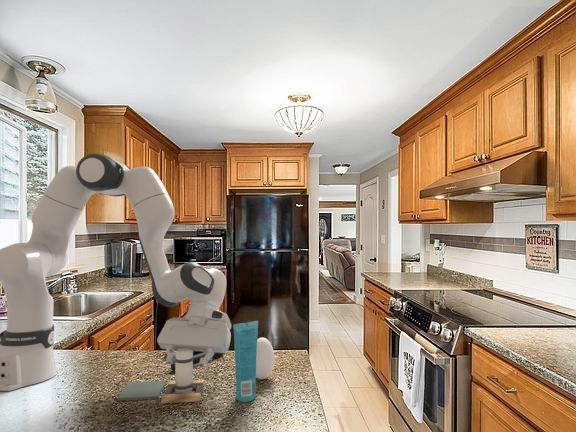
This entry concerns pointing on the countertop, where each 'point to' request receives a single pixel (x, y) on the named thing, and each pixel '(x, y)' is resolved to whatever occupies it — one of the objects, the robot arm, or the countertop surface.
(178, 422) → the countertop surface
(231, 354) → the countertop surface
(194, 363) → the door handle
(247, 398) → the tube
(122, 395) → the mat
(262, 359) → the egg
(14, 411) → the countertop surface
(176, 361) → the white cylinder
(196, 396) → the cradle
